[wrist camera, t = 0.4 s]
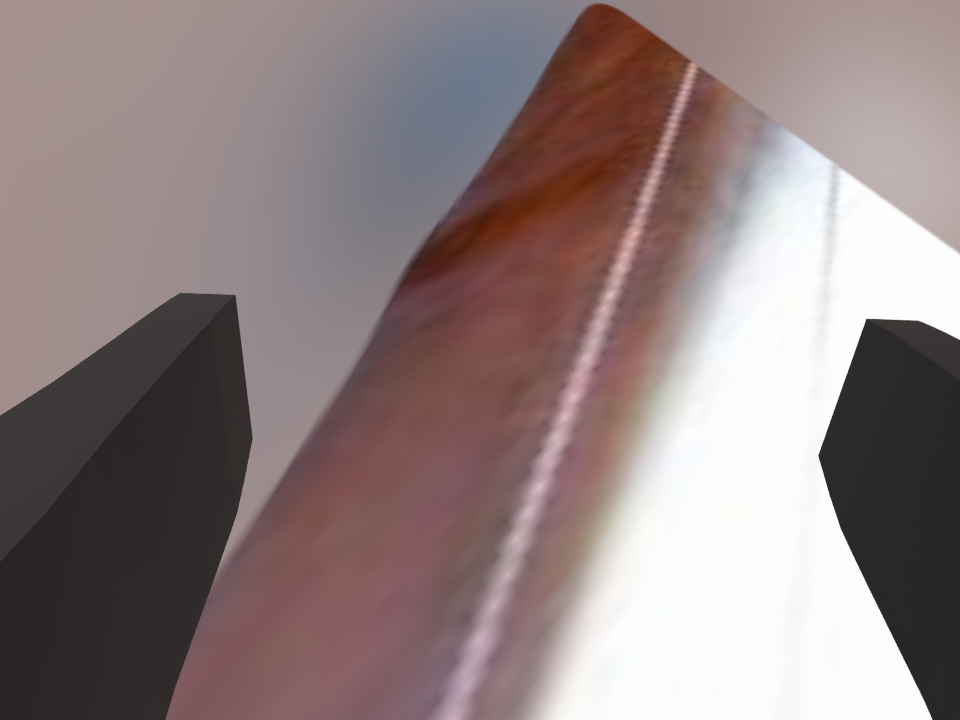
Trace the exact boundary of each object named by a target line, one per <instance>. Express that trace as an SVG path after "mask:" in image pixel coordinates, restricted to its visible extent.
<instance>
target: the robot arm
mask: <svg viewBox="0 0 960 720" xmlns="http://www.w3.org/2000/svg"><path fill="white" fill-rule="evenodd" d="M251 443H252V430H251V421H250V413H249V406H248V397H247V388H246V380H245V372H244V363H243V355H242V346H241V338H240V329H239V321H238V313H237V304H236V297H235V295H219V294H193V293H180V294H178V295H176V296H175V297H173V298H171V299H170V300H168V301H167V302H165V303H164V304H162V305H161V306H159V307H158V308H156V309H155V310H154V311H152V312H151V313H149V314H148V315H146V316H145V317H144V318H142V319H141V320H139V321H138V322H137V323H135V324H134V325H133V326H131V327H130V328H128V329H127V330H126V331H124V332H123V333H122V334H120V335H119V336H117V337H116V338H115V339H113V340H112V341H110V342H109V343H108V344H106V345H105V346H103V347H102V348H101V349H99V350H98V351H96V352H95V353H93V354H92V355H91V356H89V357H88V358H86V359H85V360H84V361H82V362H81V363H80V364H78V365H76V366H75V367H74V368H72V369H71V370H70V371H68V372H67V373H65V374H64V375H62V376H61V377H59V378H58V379H57V380H55V381H54V382H52V383H51V384H49V385H47V386H46V387H44V388H43V389H41V390H40V391H38V392H37V393H35V394H33V395H32V396H30V397H29V398H27V399H26V400H24V401H22V402H21V403H20V404H18V405H16V406H15V407H13V408H12V409H10V410H8V411H7V412H5V413H4V414H2V415H1V416H0V720H165V718H166V715H167V712H168V709H169V706H170V702H171V699H172V696H173V693H174V689H175V686H176V683H177V680H178V678H179V675H180V672H181V669H182V667H183V664H184V661H185V658H186V655H187V653H188V650H189V647H190V644H191V641H192V639H193V636H194V633H195V630H196V628H197V625H198V622H199V619H200V616H201V614H202V611H203V608H204V605H205V603H206V600H207V597H208V594H209V591H210V589H211V586H212V583H213V580H214V578H215V575H216V572H217V569H218V566H219V563H220V561H221V558H222V555H223V552H224V549H225V546H226V543H227V540H228V538H229V535H230V532H231V529H232V526H233V523H234V520H235V517H236V514H237V511H238V506H239V502H240V497H241V493H242V488H243V484H244V479H245V474H246V469H247V464H248V458H249V453H250V449H251ZM818 456H819V460H820V463H821V466H822V470H823V473H824V477H825V480H826V484H827V487H828V491H829V494H830V497H831V500H832V503H833V506H834V509H835V512H836V515H837V518H838V521H839V524H840V527H841V530H842V532H843V534H844V536H845V539H846V541H847V543H848V545H849V547H850V549H851V552H852V554H853V556H854V558H855V560H856V562H857V564H858V566H859V568H860V570H861V572H862V575H863V577H864V579H865V581H866V583H867V585H868V587H869V589H870V591H871V593H872V595H873V597H874V599H875V601H876V603H877V605H878V607H879V609H880V611H881V614H882V616H883V618H884V620H885V622H886V624H887V626H888V628H889V630H890V632H891V634H892V636H893V638H894V640H895V642H896V644H897V646H898V648H899V650H900V652H901V654H902V656H903V658H904V660H905V662H906V664H907V666H908V668H909V670H910V672H911V674H912V677H913V679H914V681H915V683H916V685H917V687H918V689H919V691H920V693H921V695H922V697H923V699H924V701H925V703H926V706H927V708H928V710H929V713H930V715H931V717H932V719H933V720H960V340H959V339H957V338H955V337H953V336H951V335H949V334H947V333H945V332H943V331H941V330H939V329H936V328H934V327H932V326H930V325H927V324H925V323H923V322H920V321H910V320H884V319H866V322H865V325H864V328H863V330H862V333H861V336H860V339H859V342H858V345H857V348H856V350H855V353H854V356H853V359H852V362H851V365H850V367H849V370H848V373H847V376H846V379H845V382H844V384H843V387H842V390H841V393H840V396H839V399H838V401H837V404H836V407H835V410H834V413H833V416H832V418H831V421H830V424H829V427H828V430H827V433H826V436H825V438H824V441H823V444H822V447H821V450H820V453H819V455H818Z"/></svg>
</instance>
